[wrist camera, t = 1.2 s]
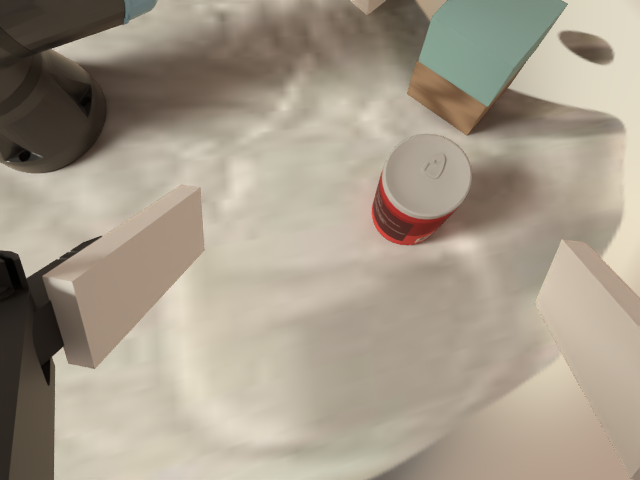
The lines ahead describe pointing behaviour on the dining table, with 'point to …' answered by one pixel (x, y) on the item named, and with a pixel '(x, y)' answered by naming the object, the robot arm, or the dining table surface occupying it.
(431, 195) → the canned food
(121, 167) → the dining table surface
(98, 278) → the robot arm
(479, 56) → the teal block
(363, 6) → the milk
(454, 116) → the walnut block
